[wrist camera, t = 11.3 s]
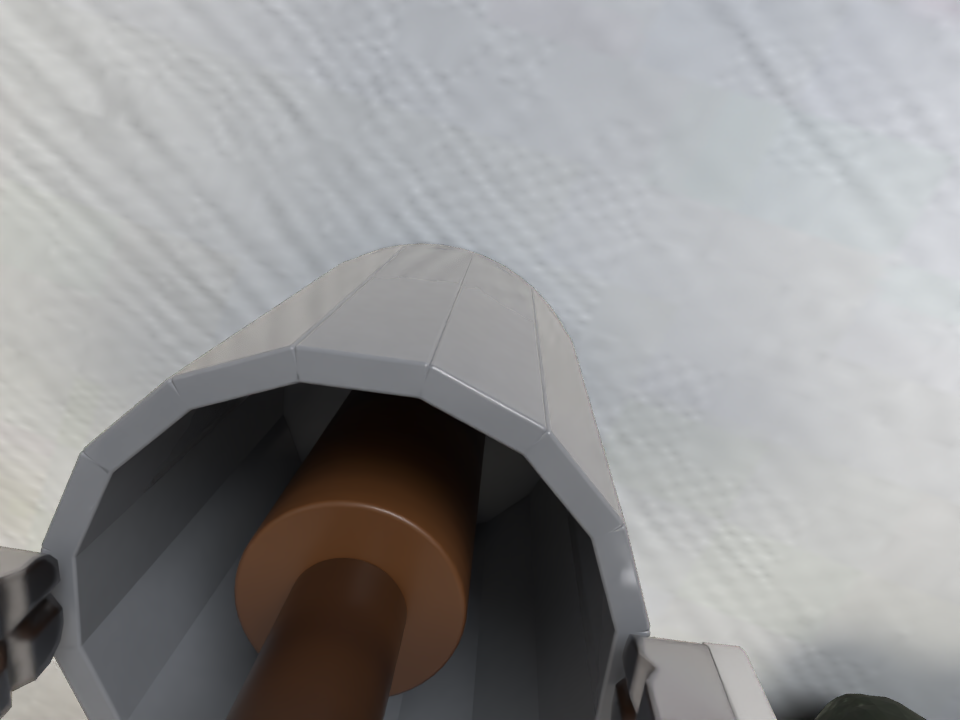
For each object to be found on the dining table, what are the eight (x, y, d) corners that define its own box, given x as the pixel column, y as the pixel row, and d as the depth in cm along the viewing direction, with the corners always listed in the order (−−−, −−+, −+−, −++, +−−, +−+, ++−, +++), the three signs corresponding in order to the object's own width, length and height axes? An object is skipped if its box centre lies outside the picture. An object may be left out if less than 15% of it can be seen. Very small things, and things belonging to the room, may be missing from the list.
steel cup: (281, 223, 18) (18, 308, 8) (605, 265, 18) (708, 400, 8) (272, 509, 21) (61, 822, 11) (554, 548, 21) (588, 896, 11)
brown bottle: (360, 333, 18) (88, 660, 7) (496, 351, 18) (462, 711, 6) (351, 456, 19) (104, 922, 8) (479, 474, 19) (425, 968, 8)
